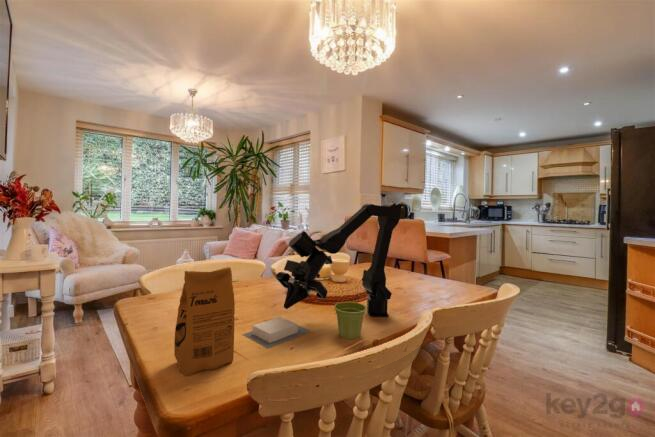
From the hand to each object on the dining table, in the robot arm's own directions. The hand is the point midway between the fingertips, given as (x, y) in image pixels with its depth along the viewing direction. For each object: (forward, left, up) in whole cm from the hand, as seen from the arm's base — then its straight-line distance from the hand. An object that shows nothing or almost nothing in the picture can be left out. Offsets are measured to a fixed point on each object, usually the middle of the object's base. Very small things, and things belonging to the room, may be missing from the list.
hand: (285, 308), depth 89 cm
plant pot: (-19, +3, -7) cm, 21 cm away
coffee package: (+17, +18, -7) cm, 26 cm away
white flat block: (-1, -1, -5) cm, 6 cm away
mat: (+2, +2, -7) cm, 8 cm away
